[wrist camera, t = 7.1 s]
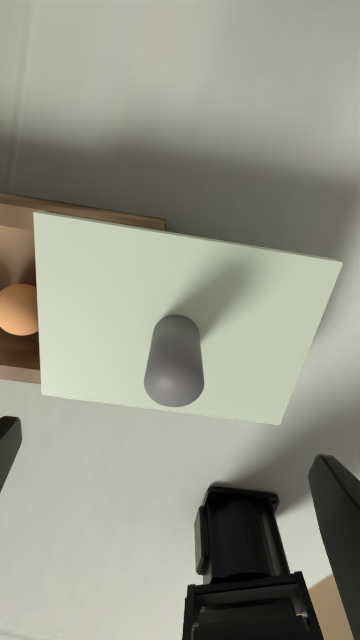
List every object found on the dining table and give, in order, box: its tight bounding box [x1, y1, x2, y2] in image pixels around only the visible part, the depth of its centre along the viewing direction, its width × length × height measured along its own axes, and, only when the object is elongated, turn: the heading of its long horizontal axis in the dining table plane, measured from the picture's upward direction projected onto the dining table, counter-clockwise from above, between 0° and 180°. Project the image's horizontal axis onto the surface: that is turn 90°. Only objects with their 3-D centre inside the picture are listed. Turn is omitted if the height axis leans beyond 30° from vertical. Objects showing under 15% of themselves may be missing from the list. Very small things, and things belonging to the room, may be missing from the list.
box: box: [0, 192, 166, 384], centre depth 18 cm, size 14×10×4 cm
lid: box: [33, 211, 343, 425], centre depth 14 cm, size 14×10×5 cm
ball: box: [0, 284, 39, 335], centre depth 18 cm, size 3×3×3 cm
